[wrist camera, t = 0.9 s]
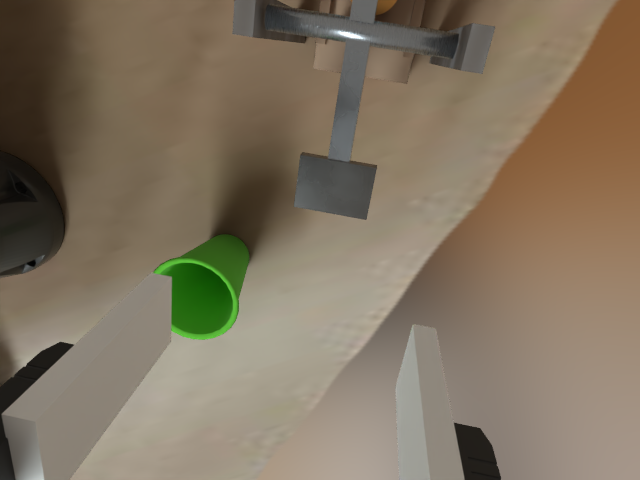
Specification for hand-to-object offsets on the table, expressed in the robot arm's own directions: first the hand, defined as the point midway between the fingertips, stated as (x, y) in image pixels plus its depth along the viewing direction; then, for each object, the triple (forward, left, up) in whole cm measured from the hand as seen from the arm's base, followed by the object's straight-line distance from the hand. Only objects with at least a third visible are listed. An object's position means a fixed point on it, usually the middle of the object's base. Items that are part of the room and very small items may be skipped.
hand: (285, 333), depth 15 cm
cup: (-12, -15, -34) cm, 39 cm away
